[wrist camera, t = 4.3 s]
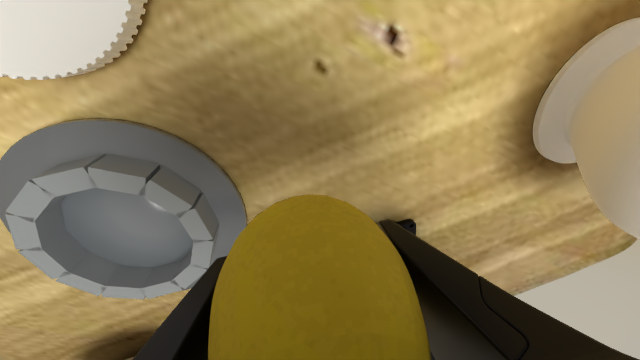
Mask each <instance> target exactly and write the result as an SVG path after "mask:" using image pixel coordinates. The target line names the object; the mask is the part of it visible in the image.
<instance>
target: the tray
mask: <svg viewBox="0 0 640 360" xmlns="http://www.w3.org/2000/svg"><path fill="white" fill-rule="evenodd" d="M0 218H1V220H2V221H3V223H4V224H5V226H6V228H7V229H8V231H9V232H10V233H11V235H12V238H13V241H14V244H15V247H16V249H21V250H20V251H18V252H19V253H20V254H22V255H23V256H24V257H25V258H27V259H28V260H29V261H30V262H32V263H33V264H34V265H35V266H36V267H38V268H39V269H40V270H41V271H43V272H44V273H45V274H46V275H48V276H49V277H50V278H51V279H54V278H58V277H59V278H58V279H57V280H56V281H57V282H60V283H63V284H66V285H69V286H71V287H74V288H77V289H80V290H83V291H86V292H88V293H91V294H94V295H97V296H99V295H100V294H101V293H102V297H114V298H130V299H145V298H147V299H150V298H154V297H158V296H162V295H166V294H170V293H174V292H178V291H182V290H187V289H190V288H192V287H193V286H194V285H195V284H196V282H197V281H198V280H199V279H200V278H201V277H202V275H203V274H204V273H205V272H206V271H207V269H208V268H209V267H210V266H211V265H212V263H213V262H214V261H215V260H216V259H217V258H219V257H224V256H228V254H229V252H230V250H231V248H232V246H233V244H234V242H235V240H236V239H237V237H238V236H239V234H240V233H241V232H242V231H243V230H244V229H245V228H246V226H247V215H246V209H245V205H244V202H243V200H242V197H241V195H240V193H239V191H238V189H237V187H236V185H235V184H234V183H233V181H232V180H231V178H230V177H229V176H228V174H227V173H226V172H225V171H224V170H223V169H222V168H221V167H220V166H219V165H218V164H217V163H216V162H215V161H214V160H213V159H211V158H210V157H209V156H208V155H207V154H205V153H204V152H202V151H201V150H199V149H198V148H196V147H195V146H193V145H192V144H190V143H188V142H186V141H184V140H183V139H181V138H179V137H177V136H175V135H172V134H170V133H167V132H165V131H163V130H160V129H157V128H154V127H151V126H147V125H144V124H140V123H135V122H130V121H125V120H117V119H105V118H94V119H79V120H72V121H66V122H62V123H59V124H56V125H52V126H49V127H46V128H43V129H40V130H38V131H36V132H34V133H32V134H29V135H27V136H25V137H23V138H22V139H21V140H19V141H18V142H17V143H15V144H14V145H13V146H11V147H10V149H9V150H8V151H7V152H6V153H5V154H4V155H3V157H2V158H1V160H0Z"/></svg>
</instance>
